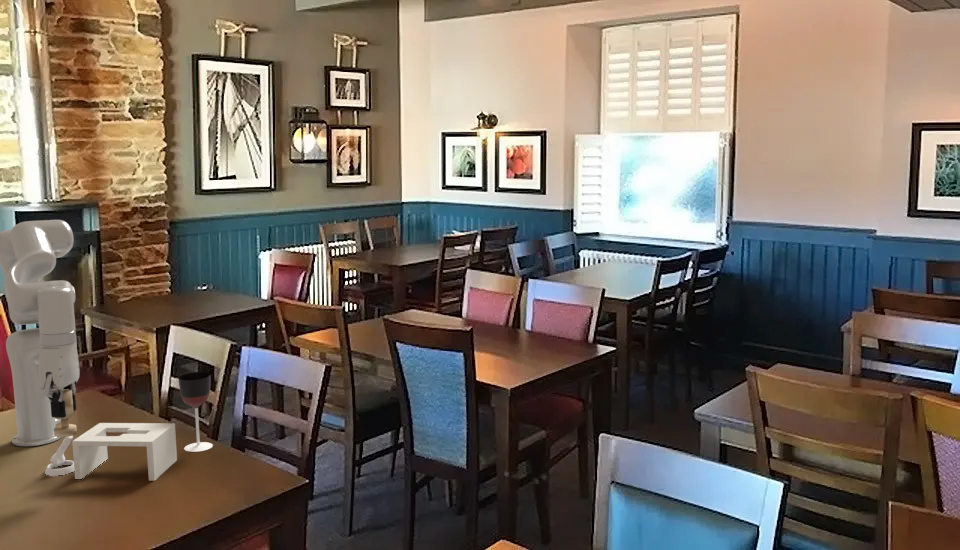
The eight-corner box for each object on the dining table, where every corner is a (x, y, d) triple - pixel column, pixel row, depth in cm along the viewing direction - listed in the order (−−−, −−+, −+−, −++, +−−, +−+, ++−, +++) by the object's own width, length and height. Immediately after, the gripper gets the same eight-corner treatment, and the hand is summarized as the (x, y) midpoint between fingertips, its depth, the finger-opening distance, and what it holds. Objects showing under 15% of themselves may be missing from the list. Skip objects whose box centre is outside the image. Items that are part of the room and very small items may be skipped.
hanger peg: (61, 430, 203) (57, 388, 202) (80, 430, 203) (77, 389, 202) (50, 437, 199) (47, 394, 197) (70, 437, 199) (67, 395, 197)
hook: (86, 456, 210) (59, 443, 208) (63, 491, 213) (37, 478, 211) (96, 440, 217) (70, 427, 215) (74, 474, 220) (48, 462, 218)
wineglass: (220, 443, 234) (216, 373, 231) (200, 453, 226) (196, 381, 223) (196, 440, 237) (192, 371, 234) (176, 450, 229) (171, 379, 226)
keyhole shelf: (75, 479, 209) (72, 441, 207) (102, 459, 222) (99, 422, 221) (154, 480, 208) (152, 441, 206) (177, 460, 222) (174, 423, 220)
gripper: (61, 330, 206) (67, 402, 209) (22, 347, 189) (28, 425, 192) (91, 330, 205) (96, 403, 208) (55, 347, 189) (61, 426, 192)
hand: (64, 413), depth 200 cm, fingers closed on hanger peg, 4 cm apart
